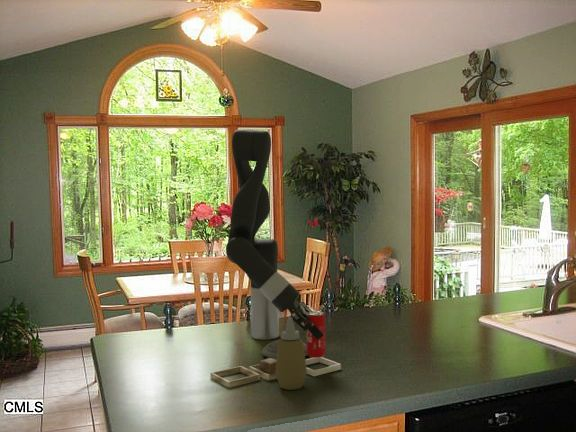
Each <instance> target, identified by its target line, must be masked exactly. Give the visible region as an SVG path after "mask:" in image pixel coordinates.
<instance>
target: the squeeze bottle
mask: <svg viewBox="0 0 576 432" xmlns="http://www.w3.org/2000/svg"><path fill="white" fill-rule="evenodd" d="M280 333H281V334H280V335H281V338H279V339H280V340H279V339H278V340H279V341H278V348H277V361H276V376H277V379H276V380H277V381H278V384H279V386H280V389H284V390H287V391H288V390H289V391H294V390H299V389H301V388H303V385H304V384H305V383H304V382H305V379H306V376H307V370H306V367H307V365H306V361H305V360H306V356H305V353H304V345H303V343H304V340H302V339H301V338H300V331H299V330H298V329H296V328H295V323H294V321H293V319H292V317H290V316H288V317H287V320H286V325H285V330H282V331H280Z"/></svg>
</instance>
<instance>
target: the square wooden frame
mask: <svg viewBox="0 0 576 432" xmlns="http://www.w3.org/2000/svg"><path fill="white" fill-rule="evenodd" d="M248 369H249V370H251V371H253V372H255V373H258V374H260V379H263V380H265V381H267V382H270V381H272V380H278V379H277V376H276V373H272V374H267V373H264V372H262V371H260V363H258V364H254V365H249V366H248Z"/></svg>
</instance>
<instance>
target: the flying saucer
mask: <svg viewBox="0 0 576 432" xmlns="http://www.w3.org/2000/svg"><path fill="white" fill-rule="evenodd" d="M280 339H281V338H279V339H276V340H272V341H271V342H269V343H268V344H266V345H265V346H264V347H263V349H262V350H261V354H262V356H264V357H266V358H267V359H268V358H273V359H277V348H278V341H279V340H280ZM303 345H304V353H305V357H307V356H308V353H307V343H305V342H303Z"/></svg>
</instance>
